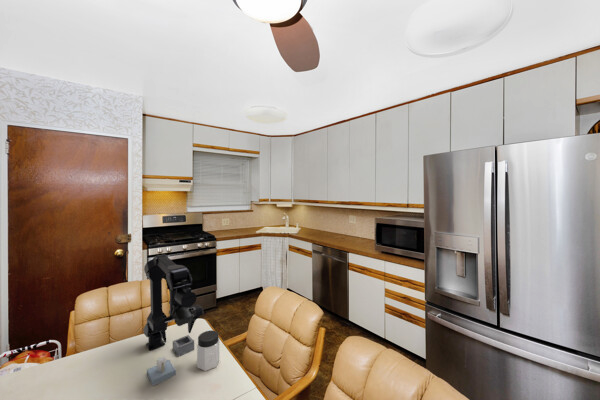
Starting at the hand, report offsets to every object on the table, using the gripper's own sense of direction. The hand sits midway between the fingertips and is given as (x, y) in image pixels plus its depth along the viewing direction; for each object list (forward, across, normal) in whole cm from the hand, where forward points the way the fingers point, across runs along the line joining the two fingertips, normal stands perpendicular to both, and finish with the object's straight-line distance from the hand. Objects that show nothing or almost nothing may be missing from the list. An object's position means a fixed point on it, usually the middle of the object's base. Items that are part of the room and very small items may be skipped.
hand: (177, 337), depth 99 cm
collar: (+14, +7, +12) cm, 20 cm away
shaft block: (+14, -5, +2) cm, 15 cm away
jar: (+14, +11, -5) cm, 18 cm away
